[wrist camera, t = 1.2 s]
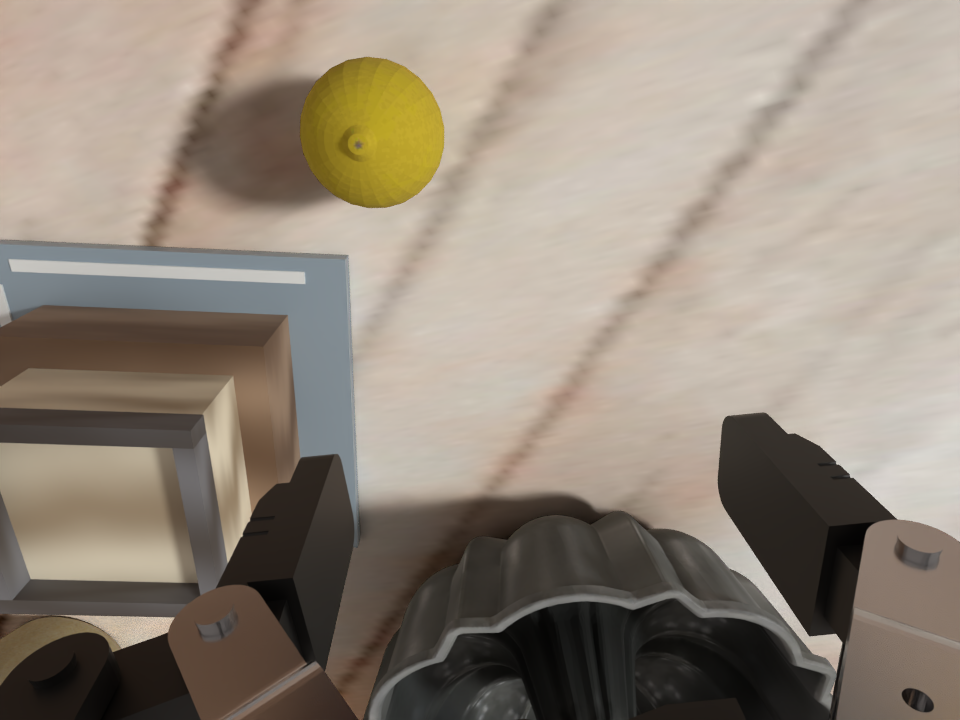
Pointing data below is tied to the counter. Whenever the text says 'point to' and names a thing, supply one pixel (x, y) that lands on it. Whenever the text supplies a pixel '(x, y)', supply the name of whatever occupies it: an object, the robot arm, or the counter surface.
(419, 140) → the lemon
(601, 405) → the counter surface
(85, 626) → the plant pot
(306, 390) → the board
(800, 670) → the bundt pan
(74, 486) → the block tower
